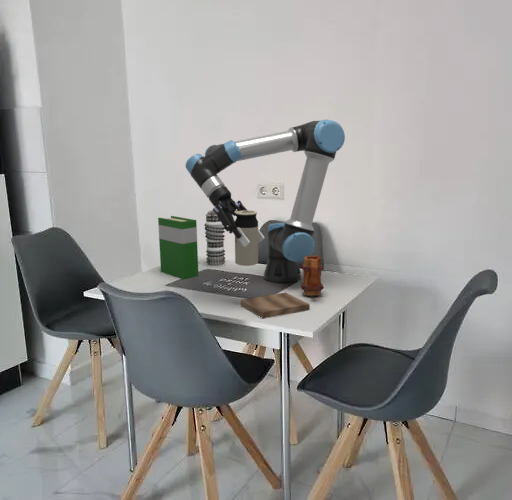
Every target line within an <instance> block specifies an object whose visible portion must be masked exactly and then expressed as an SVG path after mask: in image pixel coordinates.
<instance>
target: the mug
mask: <svg viewBox="0 0 512 500" xmlns="http://www.w3.org/2000/svg"><path fill="white" fill-rule="evenodd" d="M302 262H303V263H302V265H301V270H302V271H303V272H302V273H303V274H302V275H303V282H302V283H301V284H300V286H301V290H302V291H303V295H304V296H306V297H319V296H321V294H322V290H323V289H325V287H324V285H323V283H322V271H323V269H324V267H323V264H322V257H320V256H318V255H311V256H305V258H304V261H302Z"/></svg>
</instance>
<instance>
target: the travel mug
mask: <svg viewBox="0 0 512 500" xmlns="http://www.w3.org/2000/svg"><path fill="white" fill-rule="evenodd" d="M236 211H237V210H236ZM236 211H235V213H236V216H237V217H236V216H235V217H236V219H234V221H235V224H236V226H237V228H238V227H239V228H240V229H241V230H242V232H243V233H244V234H245V236H246V237H247V238H248V240H249V241H250V243H249V244H248V245H247V246H246V247H244V246H243V245H242V244H241V242H240V241H239V239H238V238H237V237H236V236H235V235H234V262H235V264H236V265H238V266H241V267H242V266H243V267H244V266H245V267H250V266H256V265H257V264H258V263H259V242H258V229H259V221H258V219H257V214H258V212H257V211H256V210H249V209H247V210H245V211H237V212H236Z"/></svg>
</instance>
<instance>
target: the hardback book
mask: <svg viewBox="0 0 512 500" xmlns="http://www.w3.org/2000/svg"><path fill="white" fill-rule="evenodd" d="M157 221H158V240H159V244H158V245H159V262H160V272H161V273H162V274H166V275H168V276H172V277H175V278H179V279H181V280H189V279H192V278H193V279H194V278H196V277H199V255H198V229H197V219H193V218H192V219H191V218H186V217H180V216H174V215H171V216H170V217H169V218H165V217H158V218H157Z"/></svg>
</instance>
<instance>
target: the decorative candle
mask: <svg viewBox="0 0 512 500" xmlns="http://www.w3.org/2000/svg"><path fill="white" fill-rule="evenodd" d="M205 217H206V218H205V223H204V230H205V232H204V234H205V236H204V237H205V238H206V239H205V241H206V251H205V252H206V256H207V257H206V267H208V268H223V267H225V266H226V257H225V255H226V253H225V252H226V250H225V246H224V241H225V237H226V236H225V235H224V234H225V232H226V230H225V228H224V226H223V225H222V223H221V221H220V220H219V218H218V216H217V214H216V213H215V212H214V211H213V210H208V211H207V213H206V214H205Z"/></svg>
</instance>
